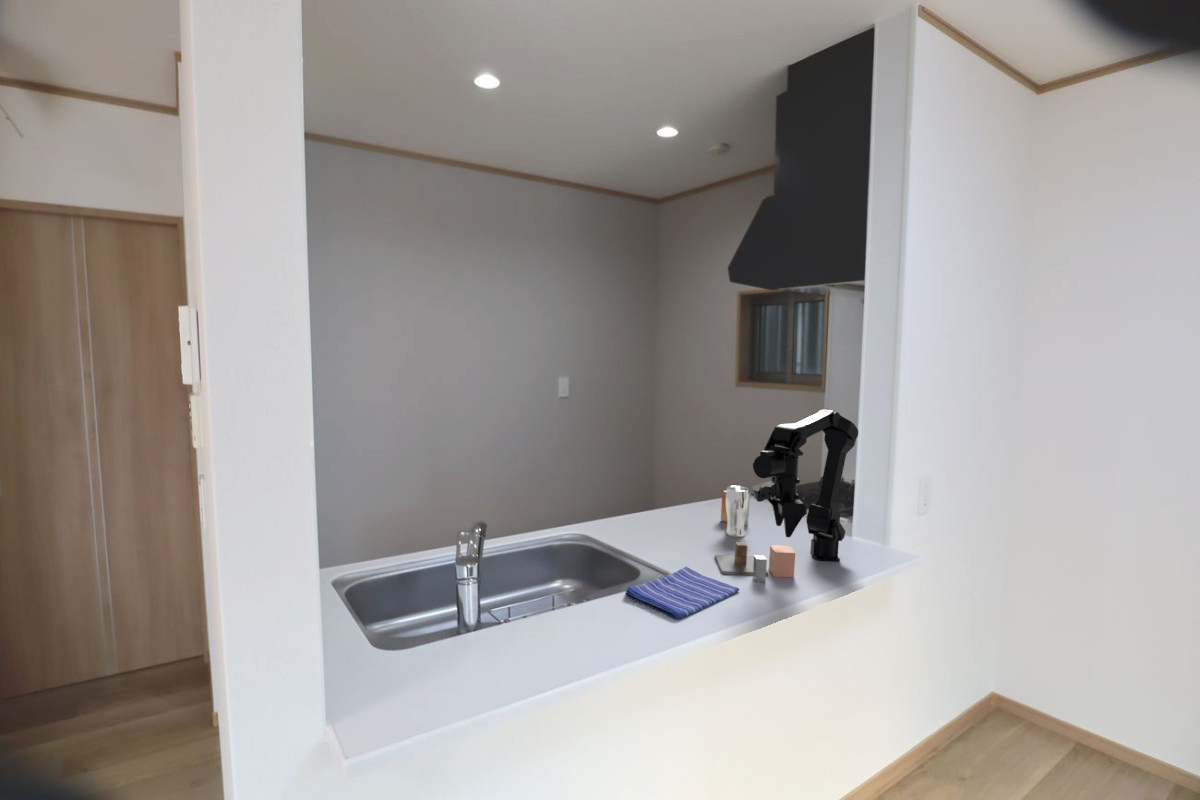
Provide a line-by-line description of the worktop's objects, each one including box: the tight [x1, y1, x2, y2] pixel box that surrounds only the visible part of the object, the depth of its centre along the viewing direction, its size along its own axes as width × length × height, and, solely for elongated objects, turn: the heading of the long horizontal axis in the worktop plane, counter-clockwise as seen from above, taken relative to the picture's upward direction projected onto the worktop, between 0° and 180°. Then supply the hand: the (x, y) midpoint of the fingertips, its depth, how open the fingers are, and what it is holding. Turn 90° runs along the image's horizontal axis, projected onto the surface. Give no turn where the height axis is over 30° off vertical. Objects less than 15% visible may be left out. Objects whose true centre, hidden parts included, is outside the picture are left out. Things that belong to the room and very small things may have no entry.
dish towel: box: [624, 566, 740, 620], centre depth 142 cm, size 17×24×3 cm
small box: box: [720, 489, 751, 527], centre depth 198 cm, size 8×6×10 cm
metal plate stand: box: [714, 541, 769, 576], centre depth 160 cm, size 12×12×6 cm
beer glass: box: [725, 485, 749, 538], centre depth 186 cm, size 7×7×15 cm
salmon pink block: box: [768, 544, 796, 578], centre depth 156 cm, size 5×5×7 cm
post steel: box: [752, 554, 768, 583], centre depth 151 cm, size 3×3×6 cm
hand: (783, 531), depth 155 cm, fingers open, 9 cm apart
